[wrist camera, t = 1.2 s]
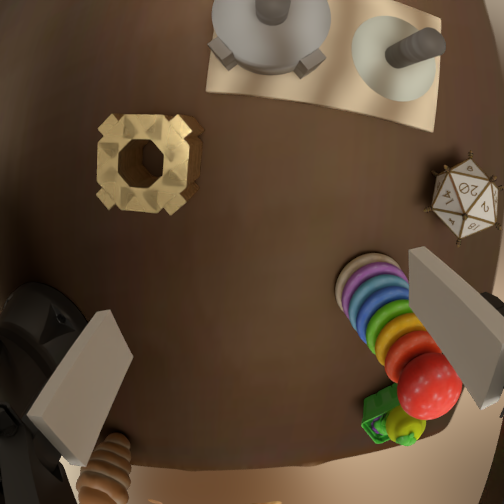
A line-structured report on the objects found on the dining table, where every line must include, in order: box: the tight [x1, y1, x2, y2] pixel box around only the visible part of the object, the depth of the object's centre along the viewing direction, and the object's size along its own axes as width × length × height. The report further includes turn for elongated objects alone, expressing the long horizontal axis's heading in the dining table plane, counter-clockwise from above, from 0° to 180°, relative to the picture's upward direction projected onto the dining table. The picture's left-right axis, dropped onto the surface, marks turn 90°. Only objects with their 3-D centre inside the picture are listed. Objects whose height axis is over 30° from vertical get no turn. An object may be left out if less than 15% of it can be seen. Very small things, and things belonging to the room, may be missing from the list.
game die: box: [423, 151, 504, 247], centre depth 26 cm, size 9×8×10 cm
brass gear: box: [96, 114, 205, 216], centre depth 27 cm, size 8×8×6 cm
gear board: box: [206, 0, 446, 132], centre depth 21 cm, size 22×13×9 cm, turn 83°
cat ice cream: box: [76, 433, 131, 504], centre depth 38 cm, size 9×8×18 cm
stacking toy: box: [335, 253, 462, 420], centre depth 26 cm, size 8×8×19 cm
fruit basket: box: [361, 383, 426, 446], centre depth 36 cm, size 11×9×11 cm
